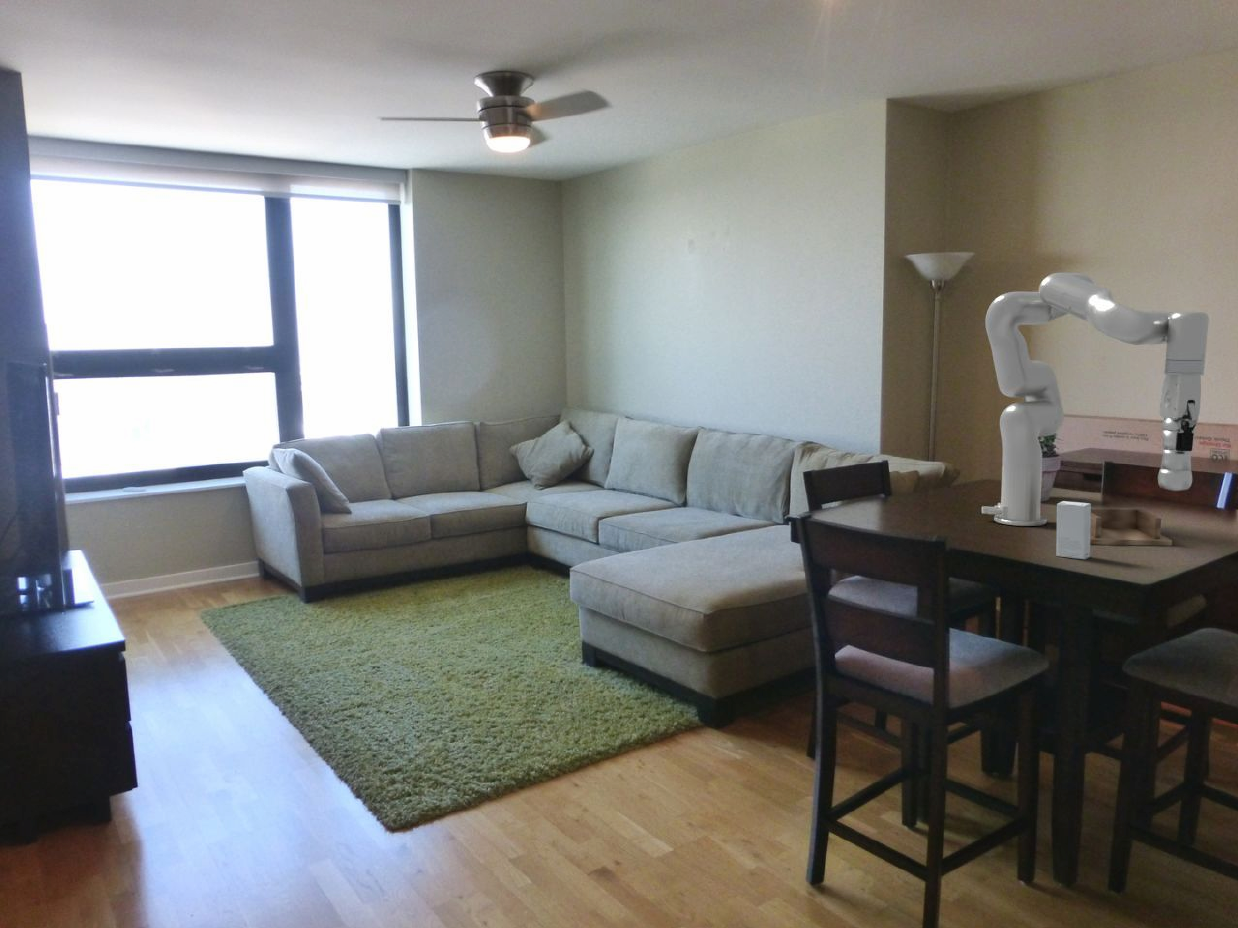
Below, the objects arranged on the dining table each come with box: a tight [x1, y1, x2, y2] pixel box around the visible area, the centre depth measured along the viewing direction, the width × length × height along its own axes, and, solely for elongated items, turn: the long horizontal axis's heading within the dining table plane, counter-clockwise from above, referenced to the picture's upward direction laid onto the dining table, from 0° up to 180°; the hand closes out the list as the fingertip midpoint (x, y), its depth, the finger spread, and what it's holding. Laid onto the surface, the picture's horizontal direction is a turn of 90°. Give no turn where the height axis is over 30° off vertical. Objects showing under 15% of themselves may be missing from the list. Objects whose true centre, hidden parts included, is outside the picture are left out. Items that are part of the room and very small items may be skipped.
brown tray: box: [1090, 507, 1173, 547], centre depth 221 cm, size 18×16×6 cm
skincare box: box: [1055, 500, 1092, 560], centre depth 203 cm, size 6×4×12 cm
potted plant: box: [1038, 433, 1073, 502], centre depth 273 cm, size 18×20×25 cm
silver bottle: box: [1157, 417, 1197, 492], centre depth 206 cm, size 6×7×20 cm
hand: (1177, 448), depth 206 cm, fingers closed on silver bottle, 6 cm apart
